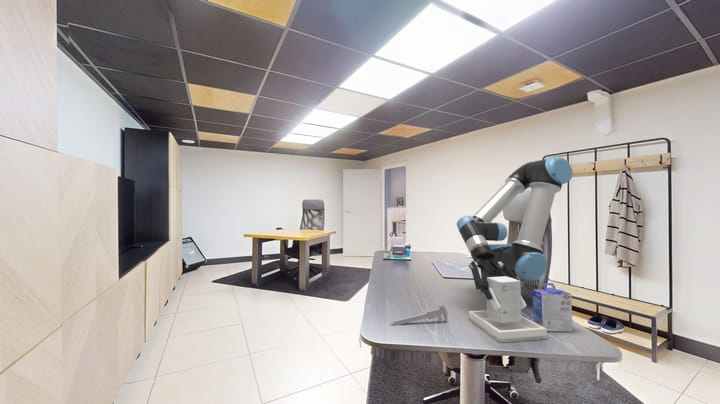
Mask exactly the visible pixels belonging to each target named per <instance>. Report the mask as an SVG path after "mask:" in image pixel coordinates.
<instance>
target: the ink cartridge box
mask: <svg viewBox="0 0 720 404" xmlns="http://www.w3.org/2000/svg"><path fill="white" fill-rule="evenodd" d="M542 285H543V289H532V290H531V292H532V293H531V294H532V315H533V322H535V323H537V324H538V325H540V326H542V327H544V328H546V329H547V332H569V333H570V332H574V330H573V329H574V328H573V309H572V308H573V307H572V305H573V304H572V293H569V292H567V291H565V290H562V289H556V287H555V285H554V282H553V283H552V282H542ZM547 286H551V287H547Z"/></svg>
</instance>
